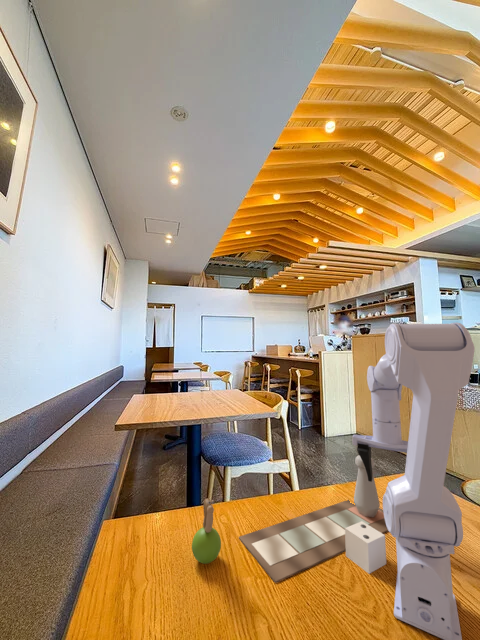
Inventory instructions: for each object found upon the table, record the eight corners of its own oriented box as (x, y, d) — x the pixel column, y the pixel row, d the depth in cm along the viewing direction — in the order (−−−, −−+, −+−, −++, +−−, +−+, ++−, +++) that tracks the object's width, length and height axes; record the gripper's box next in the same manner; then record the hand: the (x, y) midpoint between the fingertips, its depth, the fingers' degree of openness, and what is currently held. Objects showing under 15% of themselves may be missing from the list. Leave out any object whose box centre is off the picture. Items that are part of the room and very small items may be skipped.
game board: (275, 583, 46) (275, 580, 46) (238, 538, 58) (238, 536, 58) (405, 523, 64) (405, 521, 64) (357, 497, 75) (357, 496, 75)
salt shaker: (356, 503, 71) (354, 451, 73) (381, 510, 68) (378, 455, 70) (352, 514, 66) (349, 457, 68) (378, 522, 63) (375, 462, 65)
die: (369, 574, 49) (367, 542, 49) (345, 556, 53) (344, 527, 54) (386, 564, 51) (384, 534, 52) (362, 548, 55) (361, 520, 56)
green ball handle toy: (193, 578, 47) (196, 503, 49) (190, 552, 53) (192, 486, 55) (224, 572, 49) (225, 499, 50) (217, 548, 55) (219, 483, 56)
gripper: (423, 421, 62) (428, 485, 60) (354, 413, 70) (357, 470, 68) (425, 427, 56) (430, 499, 54) (349, 418, 64) (352, 481, 62)
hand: (389, 484), depth 61 cm, fingers open, 7 cm apart
